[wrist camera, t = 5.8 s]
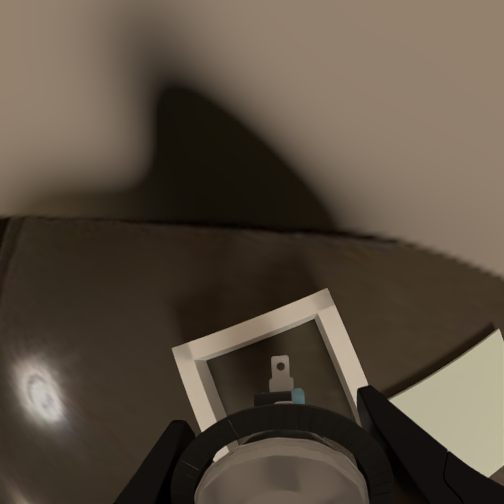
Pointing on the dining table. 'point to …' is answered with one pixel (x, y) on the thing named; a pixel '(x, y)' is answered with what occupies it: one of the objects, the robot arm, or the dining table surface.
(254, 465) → the push button
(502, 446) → the mat
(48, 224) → the dining table surface
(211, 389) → the white u-shaped bracket
